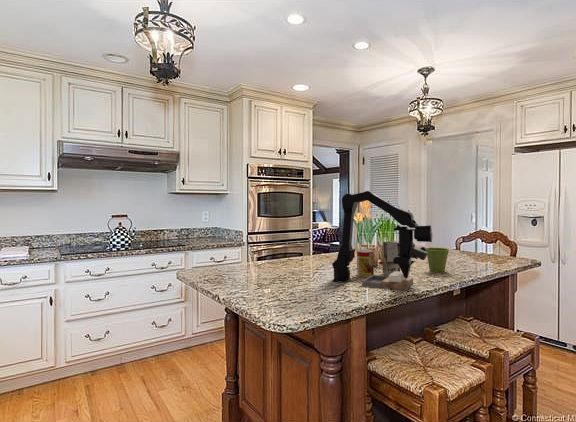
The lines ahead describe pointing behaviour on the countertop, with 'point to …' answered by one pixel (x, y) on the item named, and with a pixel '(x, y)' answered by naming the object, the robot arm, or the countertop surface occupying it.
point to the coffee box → (390, 257)
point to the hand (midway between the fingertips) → (406, 278)
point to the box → (374, 281)
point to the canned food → (365, 263)
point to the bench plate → (397, 284)
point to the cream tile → (396, 277)
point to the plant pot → (437, 258)
